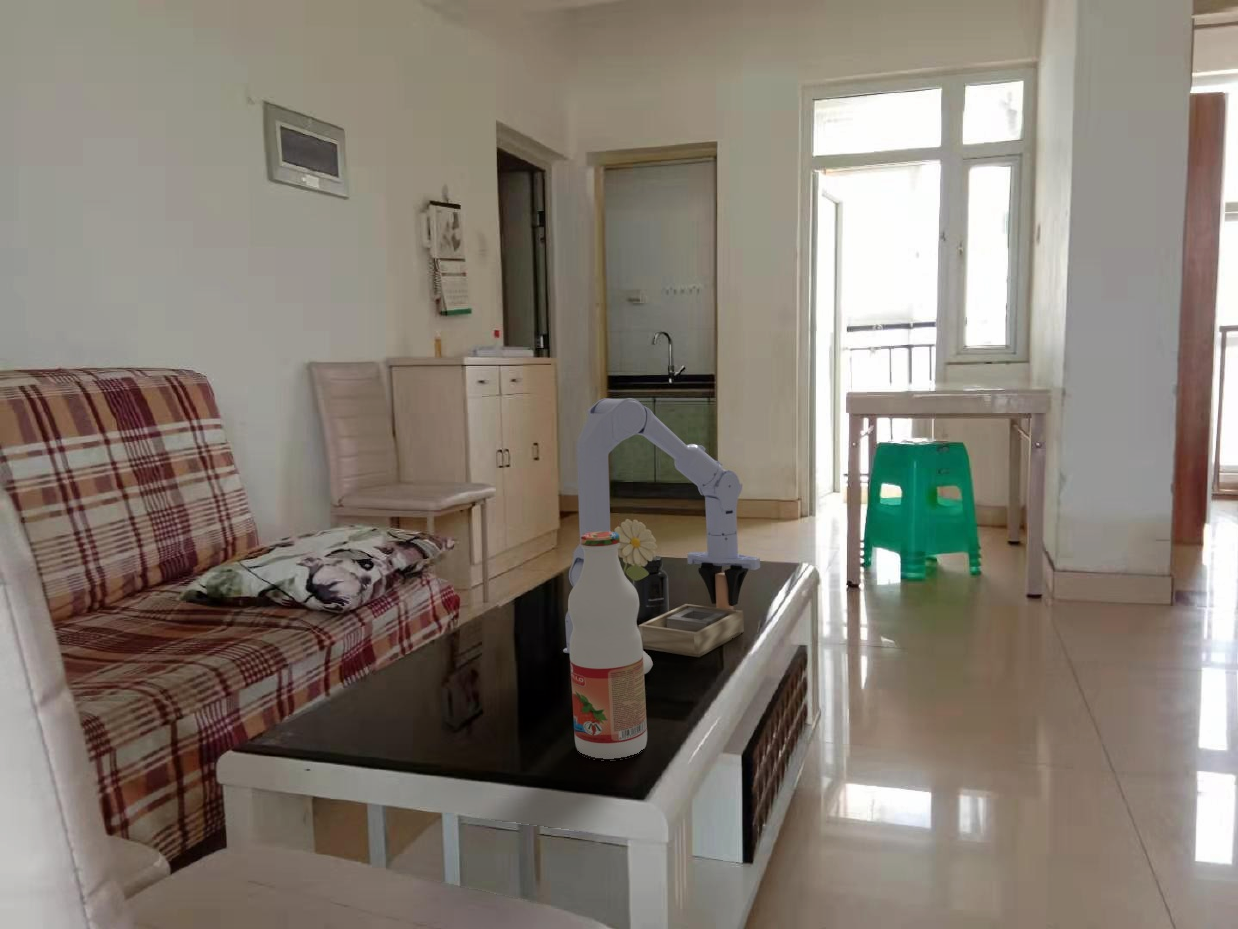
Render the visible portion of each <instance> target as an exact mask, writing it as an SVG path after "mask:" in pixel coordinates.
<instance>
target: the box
mask: <svg viewBox="0 0 1238 929" xmlns="http://www.w3.org/2000/svg"><path fill="white" fill-rule="evenodd" d="M637 627H638V629H639V631H640V634H641V638H642V646H643V650H644V649H645V650H651V651H657V652H662V653H663V652H664V653H671V654H676V655H681V656H689V657H695V658H700V657H702V656H704V655H706V654H708V653H710V652H711V651H713V650H715V649H716V648H718V647H720V646H722V645H724V644H725V643H728V642H730V641H731V640H733V639H735V638H736V637H738V636H740V635H741V633H742V634H744V633H745V632H744V631H745V630H744V610H739V609H733V610H732V609H724V608H716V606H707V605H700V604H699V605H696V604H691V603H689V604H688V603H684V604H682V605H680V606H678V607H676V608H674V609H672V610H669V612H667V613H665V614H663V615H660V616H658V617H656V618H654V619H652V620H649V621H647V622H642V623H641V624H639V625H638V624H637ZM743 632H744V633H743ZM732 638H733V639H732Z"/></svg>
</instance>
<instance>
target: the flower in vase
mask: <svg viewBox="0 0 1238 929" xmlns="http://www.w3.org/2000/svg"><path fill="white" fill-rule="evenodd" d="M646 528H647V526H646V525H645V524H644V523H643V522H641V521H638V519H633V520H631V519H628V518H626V519H625V521H622V522H621V523H620V526H617V527H615V528H614V532H616V533H618V534H619V538H620V542H619V544H620V545H619V547H618V557H619V558H622V562H623V563H624V567H623V569H622V570H623V572H624V574H626V575H627V576H628V577H629V578H630V579H631V580H632V581H633V580H636V581H637V580H640V579H643V578H644V577H646V576H647V575H649V573H648V572H647V571H646V570H645V569H644V568H643V567H641V566H645V565H647V560H648V561H652V560H653V557H656V556H657V553H656V550H657V549H658V545H657V544H656V542H657V539H656V538H655V536H654V534H652V530H650V529H646ZM628 564H629V565H630V566H628ZM627 566H628V567H627ZM643 664H644V675H646V674H648V673H649V672H650V671H651V669H652V667H653V665H654V664H653V661H652V657H651V656H650V655H648V653H646V651H644V650H643Z"/></svg>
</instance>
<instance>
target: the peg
mask: <svg viewBox="0 0 1238 929" xmlns="http://www.w3.org/2000/svg"><path fill="white" fill-rule="evenodd" d="M715 587H716V604H715V607H716V608H724V609H732V610H734V606H729V598H728V585H727V580H726V576H725V573H724V572H721V573H718V574H715Z"/></svg>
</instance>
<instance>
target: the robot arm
mask: <svg viewBox="0 0 1238 929" xmlns="http://www.w3.org/2000/svg"><path fill="white" fill-rule="evenodd" d="M586 413H587V414H586V415H587V416H586V420H585V423H584V425H583V427H582V429H581V431H580V434H579V435H578V439H577V442H576V462H577V466H576V467H577V492H578V493H577V494H578V495H577V496H578V497H577V498H578V522H579V524H578V526H579V529H578V530H579V544H578V545H577V546H576V548H575V549H574V550H573V552H572V556H573V557H572V563H571V566H570V567H569V571H568V579H569V583H570V584H571V586H572V588H573V587H574V586H575V584H576V583H577V582H578V580H579V578H580V575H581V572H582V568H583V563H584V550H583V549H582V547H581V546H582V545H581V536H582V535H583V534H586V533H591V532H601V531H609V532H611V511H610V510H611V509H610V508H611V506H610V504H611V503H610V499H611V498H610V473H609V472H610V471H609V470H610V469H609V466H610V465H609V464H610V463H609V455H610V453H611V452H612V451H613V450H614V449H615V448H616V447H617V446H618V445H620V443H621V442H622V441H625V440H627V439H629V438H631V437H633V436H635V435H639V436H642V437H644V438H645V439H647V440H648V441H649V442H651V443H652V444H653V445H655V446H657V447H658V448H659V449H660V450H661V451H663V452H664V453H666V454H667V455H668V456H670V457H671V458H672V459H673V462H674V467H675V470H677V471H678V472H680V474H681V475H683V476H684V477H685V478H687V479H688V480H689V481H690V482H692V483H693V484H694V485H695V486H697V490H698V492H699V493H700V495H701V496H704V501H705V502H704V504H705V505H704V507H705V525H706V526H705V527H706V528H705V529H706V548H707V549H706V550H707V552H699V551H698V552H697V551H693V552H689V553H687V555H686V556H687V557H686V558H687V564H688V565H694V564H697V565H700V567H699V568H698V569H697V571H698V574H699V575H700V576H701V578H702V580H703V582H704V584H705V586H706V589H707V592H708V594H709V598H710V601H711V604H713V605H716V587H715V574H718V573H722V567H727V568H728V569H725V570H724V572H723V573H725V576H726V580H727V585H728V598H729V606H733V607H734V606H736V605H738V602H739V598H740V593H741V589H742V585H743V582H744V580H745V578H746V577H747V576H746V575H747V573H748V572H749V569H750V570H751V571H756V570H759V569H760V568H761V558H760V557H755V556H749V555H744V554H739V550H738V548H739V547H738V544H739V543H738V541H739V540H738V521H737V520H738V516H737V506H739V505H738V500H739V497H740V495H741V493H742V489H743V483H740V479H739V476H738V475H737V473H735V472H734V471H732V470H727V469H724V468H723V463H722V462H721V461H719V460H715V459H714V458H713V457H711V455H709V454H707V452H706V447H705V446H703V445H701V444H695V443H690V444H686V443H685V442H684V441H682V439H680V438H679V436H677V435H676V433H674V432H673V431H672V430H671V429H670V428H668V426H667V425H665V424H664V423H663V422H662V421H661V420H660V419H659V417H657V416H656V415H655V414H654V413H653V411H652V410H651V409H650V408H649V407H646V406H644V405H643V404H642V403H641V402H640V401H639V400H638V399H635V398H630V397H629V398H622V399H621V398H610V397H609V398H607V397H605V398H602V399H600V400H598V401H596V403H594V404H593V405H592V406H591V407H590V408H589V409H587V410H586ZM564 619H565V620H564V621H565V622H564V623H565V639H566V647H565V648H564V649H563V650H562V651H563V653H565V654H570V637H571V634H572V631H573V623H572V620H571V617H570V614H569V610H567V612H566V613H565V617H564Z"/></svg>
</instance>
